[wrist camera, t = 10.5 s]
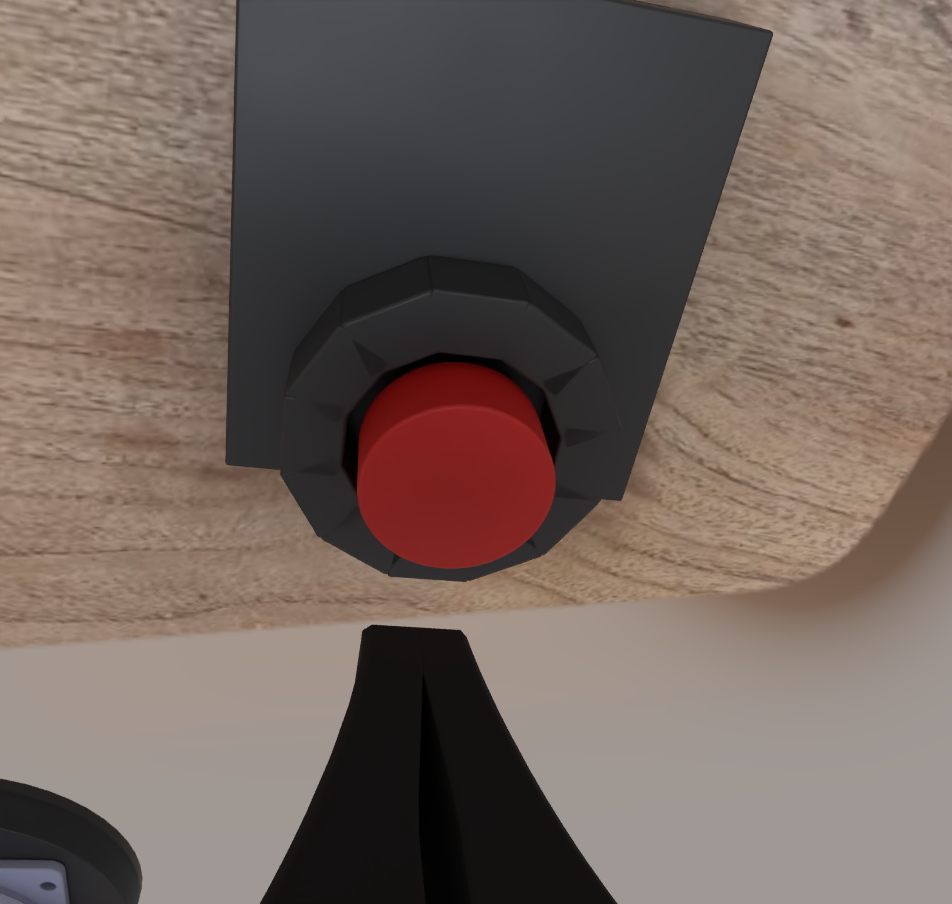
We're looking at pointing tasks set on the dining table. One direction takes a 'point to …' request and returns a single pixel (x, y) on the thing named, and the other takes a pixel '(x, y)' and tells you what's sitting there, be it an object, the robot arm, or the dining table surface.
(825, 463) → the dining table surface
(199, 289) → the dining table surface
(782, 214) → the dining table surface
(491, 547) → the stop button
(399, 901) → the robot arm
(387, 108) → the button box
